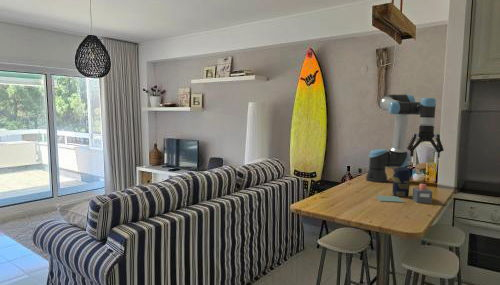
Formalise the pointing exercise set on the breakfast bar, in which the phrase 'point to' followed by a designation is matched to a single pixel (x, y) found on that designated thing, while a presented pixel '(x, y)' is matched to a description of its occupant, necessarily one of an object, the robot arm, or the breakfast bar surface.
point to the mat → (389, 199)
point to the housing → (422, 195)
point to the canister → (401, 181)
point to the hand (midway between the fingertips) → (424, 162)
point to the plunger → (422, 186)
